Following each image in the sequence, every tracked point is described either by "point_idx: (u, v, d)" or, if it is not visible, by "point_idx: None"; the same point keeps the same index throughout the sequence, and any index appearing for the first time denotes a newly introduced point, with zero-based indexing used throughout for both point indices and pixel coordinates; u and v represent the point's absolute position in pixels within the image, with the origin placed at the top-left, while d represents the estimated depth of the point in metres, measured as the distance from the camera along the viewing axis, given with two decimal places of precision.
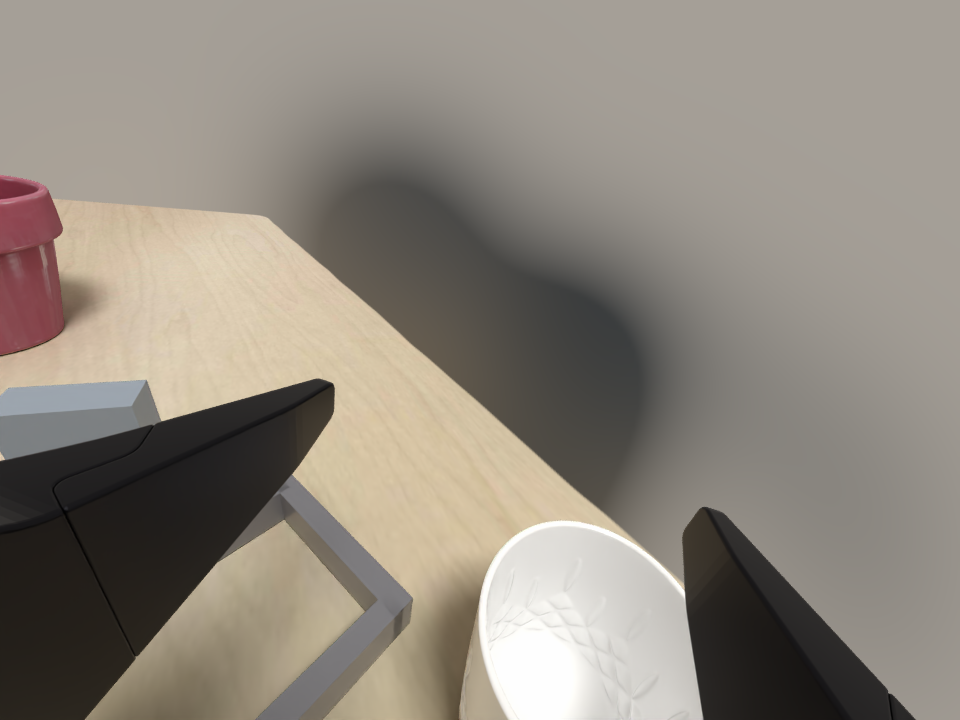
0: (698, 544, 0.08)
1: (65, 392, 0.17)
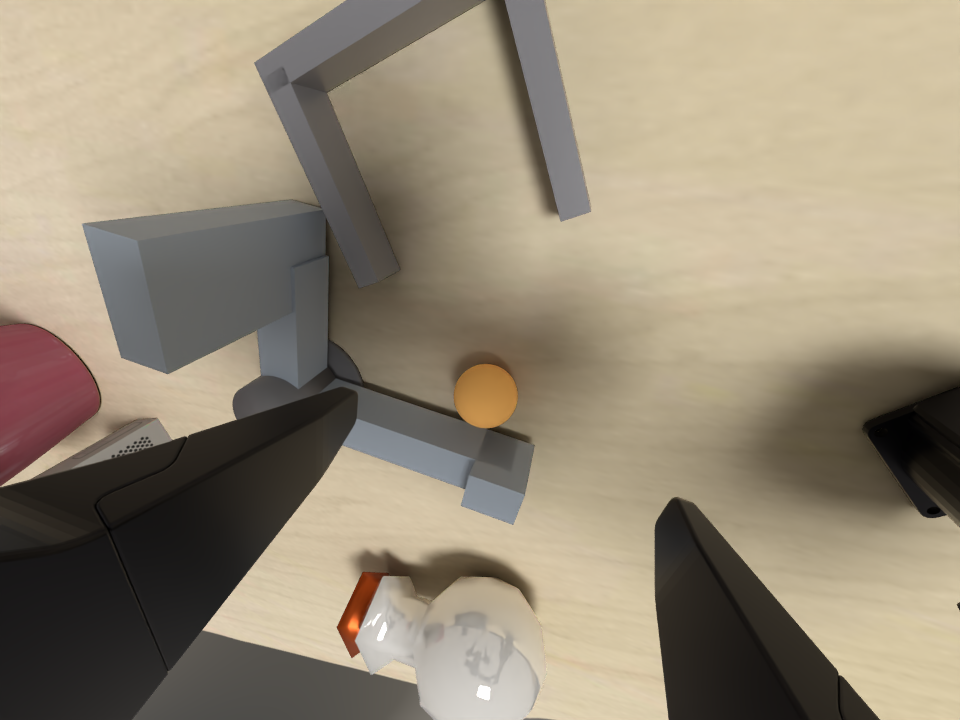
0: (668, 534, 0.08)
1: (121, 309, 0.13)
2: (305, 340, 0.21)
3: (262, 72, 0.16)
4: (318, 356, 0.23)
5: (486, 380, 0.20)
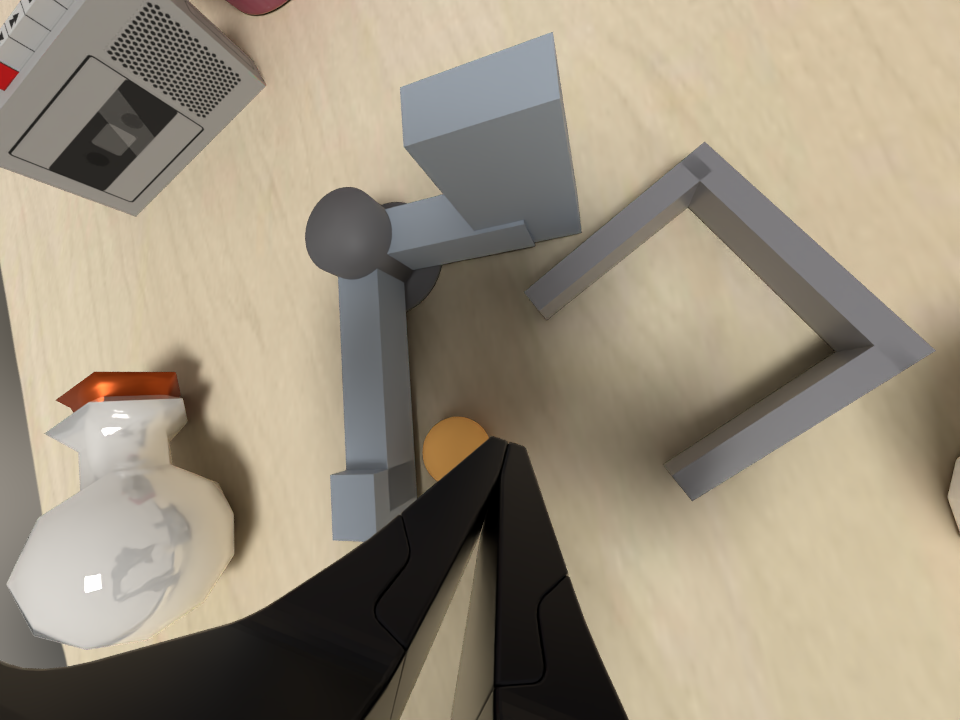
0: None
1: (464, 84, 0.11)
2: (443, 248, 0.20)
3: (698, 151, 0.16)
4: (425, 261, 0.21)
5: None
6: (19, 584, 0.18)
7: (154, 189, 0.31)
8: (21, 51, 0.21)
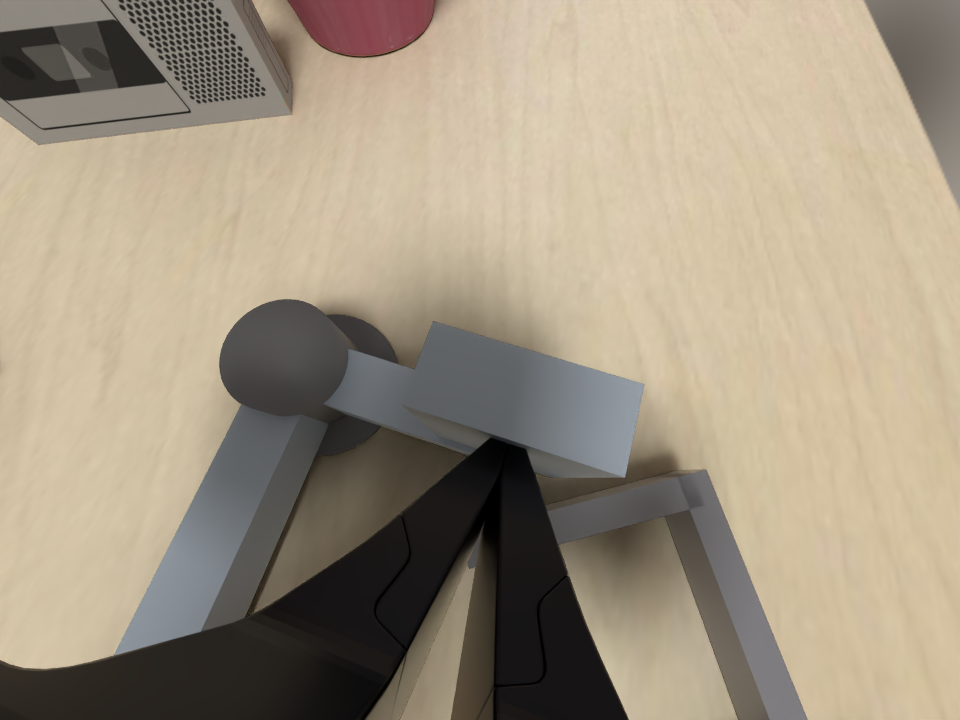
0: None
1: (515, 375, 0.08)
2: (394, 428, 0.15)
3: (698, 476, 0.15)
4: (366, 420, 0.17)
5: None
6: None
7: (84, 132, 0.23)
8: None
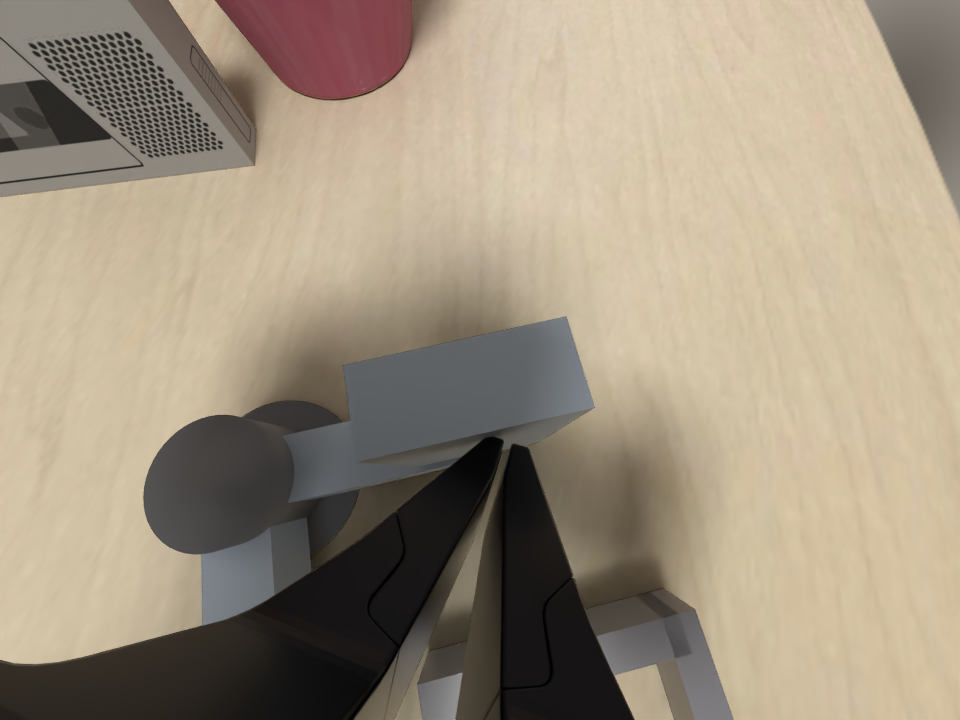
0: (501, 476, 0.09)
1: (449, 372, 0.08)
2: (372, 484, 0.14)
3: (685, 618, 0.13)
4: (341, 492, 0.15)
5: None
6: None
7: (30, 187, 0.22)
8: None
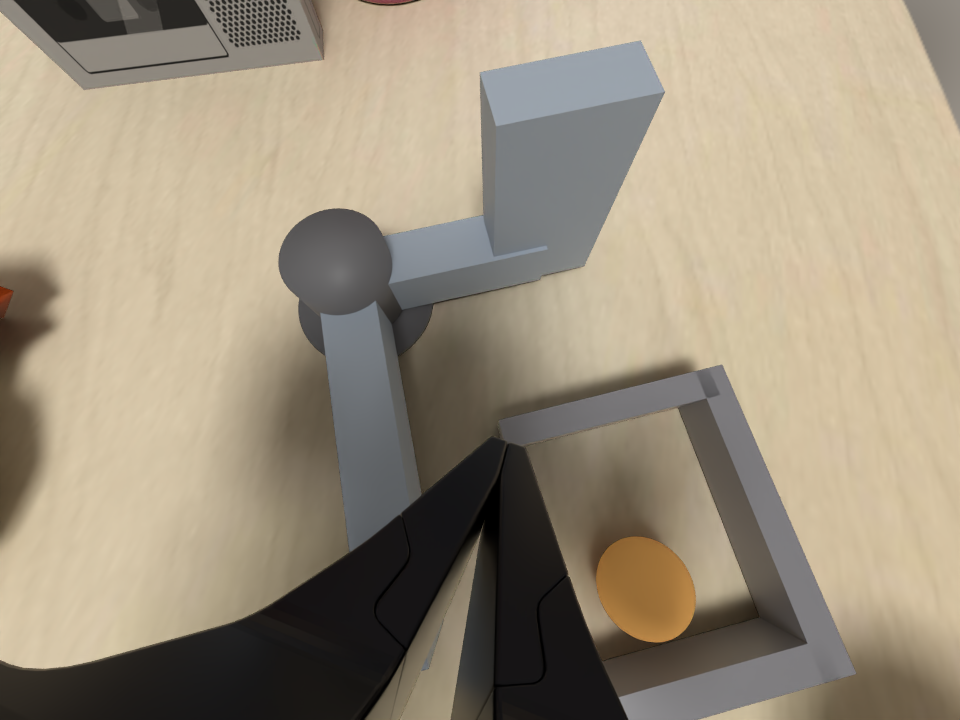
0: None
1: (557, 74, 0.11)
2: (453, 278, 0.17)
3: (714, 370, 0.16)
4: (423, 296, 0.19)
5: None
6: None
7: (127, 77, 0.25)
8: None
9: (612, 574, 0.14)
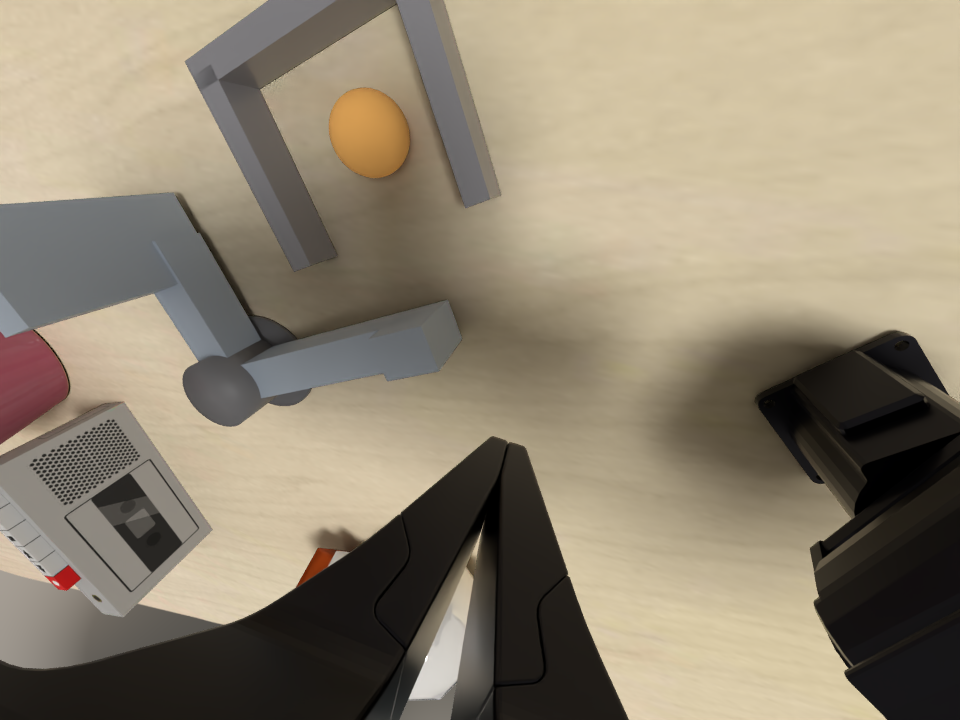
0: None
1: None
2: (211, 310, 0.23)
3: (192, 70, 0.17)
4: (240, 327, 0.24)
5: None
6: None
7: (192, 509, 0.38)
8: (52, 558, 0.29)
9: (350, 168, 0.17)
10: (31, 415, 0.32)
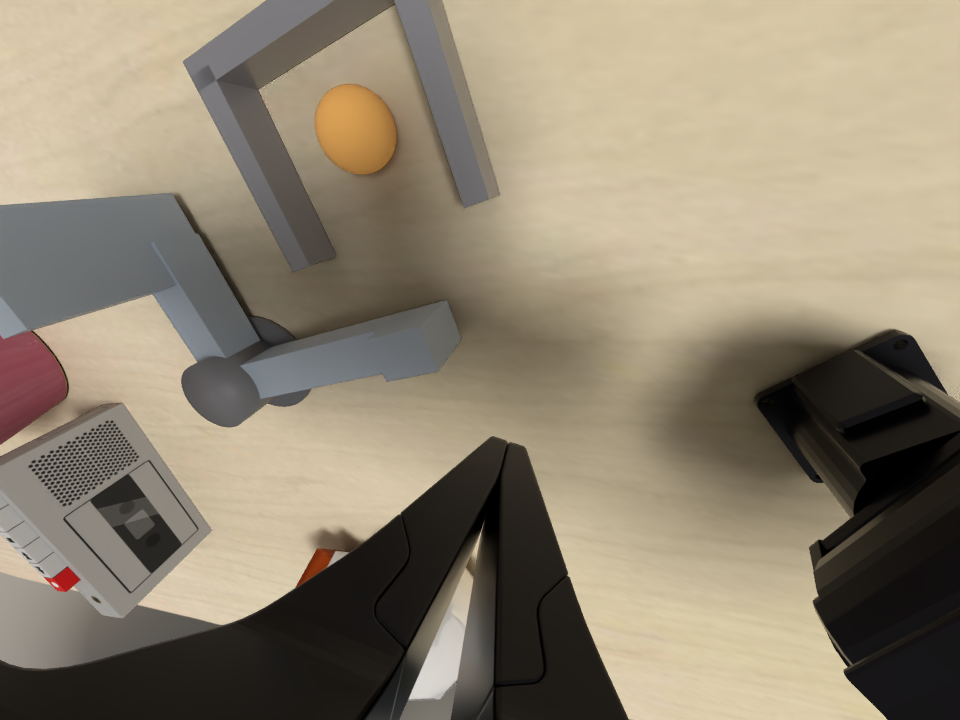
0: None
1: None
2: (210, 310, 0.23)
3: (190, 70, 0.17)
4: (239, 328, 0.24)
5: None
6: None
7: (192, 510, 0.38)
8: (51, 559, 0.29)
9: (335, 163, 0.18)
10: (30, 416, 0.32)
